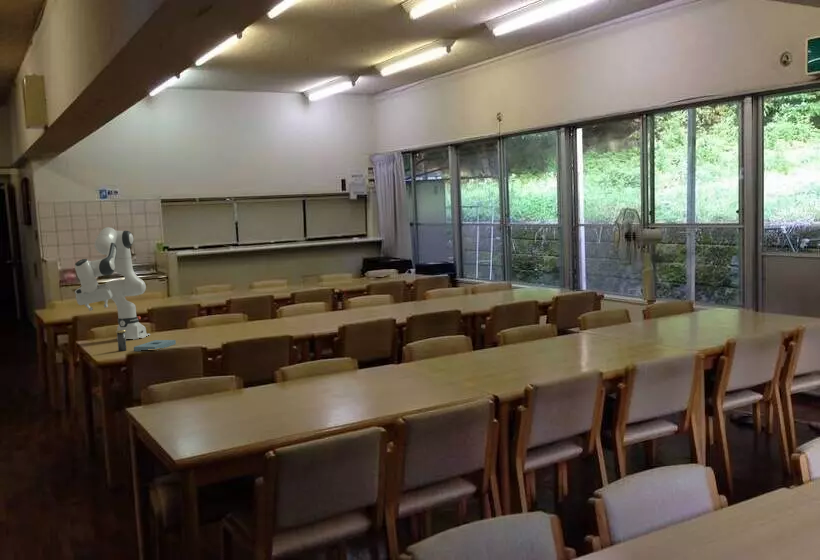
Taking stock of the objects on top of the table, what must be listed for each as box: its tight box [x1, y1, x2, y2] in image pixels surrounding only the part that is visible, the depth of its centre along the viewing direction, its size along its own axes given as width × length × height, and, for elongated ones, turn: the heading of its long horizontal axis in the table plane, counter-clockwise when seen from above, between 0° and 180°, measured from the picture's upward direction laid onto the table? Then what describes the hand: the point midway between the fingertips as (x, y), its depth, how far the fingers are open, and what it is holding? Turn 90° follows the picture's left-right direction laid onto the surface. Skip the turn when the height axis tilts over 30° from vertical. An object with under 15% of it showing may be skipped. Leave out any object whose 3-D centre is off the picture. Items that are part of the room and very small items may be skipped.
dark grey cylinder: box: [115, 329, 127, 352], centre depth 428 cm, size 6×6×12 cm
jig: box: [133, 339, 177, 352], centre depth 433 cm, size 22×14×2 cm, turn 167°
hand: (98, 308), depth 425 cm, fingers open, 8 cm apart
